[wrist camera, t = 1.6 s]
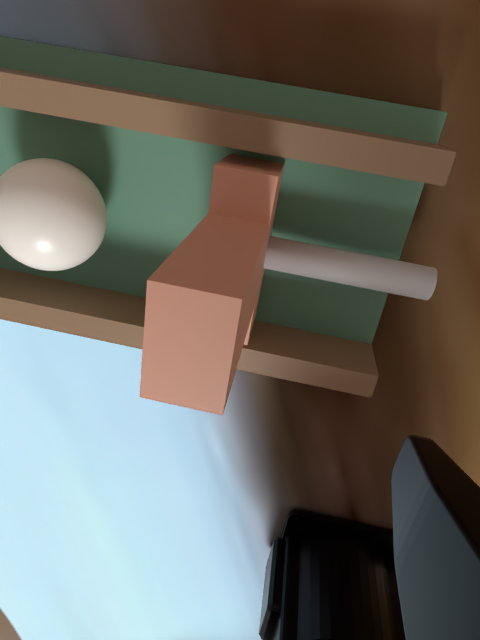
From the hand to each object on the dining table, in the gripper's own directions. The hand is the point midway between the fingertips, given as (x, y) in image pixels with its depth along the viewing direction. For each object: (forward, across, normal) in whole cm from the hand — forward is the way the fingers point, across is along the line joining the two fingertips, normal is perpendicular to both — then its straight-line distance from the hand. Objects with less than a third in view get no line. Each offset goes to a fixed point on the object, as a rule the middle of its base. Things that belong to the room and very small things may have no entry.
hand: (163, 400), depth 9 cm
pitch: (+12, +6, 0) cm, 13 cm away
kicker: (+11, -3, 0) cm, 11 cm away
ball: (+9, +7, 0) cm, 11 cm away
